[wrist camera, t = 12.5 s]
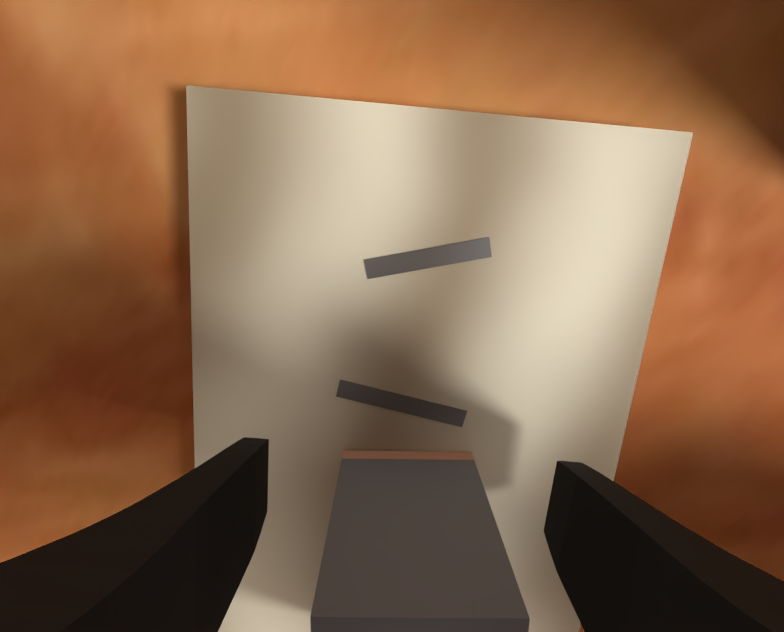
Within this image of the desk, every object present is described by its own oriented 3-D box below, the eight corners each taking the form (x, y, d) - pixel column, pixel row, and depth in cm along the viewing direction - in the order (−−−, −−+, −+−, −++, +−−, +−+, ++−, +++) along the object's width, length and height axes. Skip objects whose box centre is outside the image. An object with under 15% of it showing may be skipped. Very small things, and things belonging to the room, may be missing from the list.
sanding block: (471, 451, 12) (530, 618, 7) (460, 622, 13) (501, 863, 8) (343, 450, 12) (310, 617, 7) (345, 622, 13) (319, 862, 8)
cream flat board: (661, 141, 11) (693, 132, 10) (552, 648, 15) (567, 686, 14) (208, 100, 11) (185, 84, 10) (214, 627, 15) (198, 663, 13)
